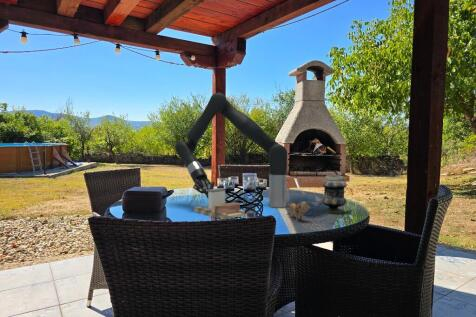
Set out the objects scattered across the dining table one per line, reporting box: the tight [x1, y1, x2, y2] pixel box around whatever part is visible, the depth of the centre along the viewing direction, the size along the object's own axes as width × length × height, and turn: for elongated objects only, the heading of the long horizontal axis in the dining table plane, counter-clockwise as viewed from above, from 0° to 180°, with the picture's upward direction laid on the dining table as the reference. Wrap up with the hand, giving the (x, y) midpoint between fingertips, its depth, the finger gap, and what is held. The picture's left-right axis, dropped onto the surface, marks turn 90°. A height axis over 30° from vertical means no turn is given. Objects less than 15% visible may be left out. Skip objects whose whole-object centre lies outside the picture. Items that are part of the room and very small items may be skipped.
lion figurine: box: [286, 201, 310, 222], centre depth 154 cm, size 15×5×9 cm, turn 27°
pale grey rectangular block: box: [207, 187, 226, 211], centre depth 164 cm, size 3×8×10 cm, turn 133°
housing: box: [193, 201, 246, 220], centre depth 164 cm, size 24×12×6 cm, turn 43°
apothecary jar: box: [320, 174, 348, 215], centre depth 169 cm, size 12×12×18 cm
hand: (211, 198), depth 167 cm, fingers closed
